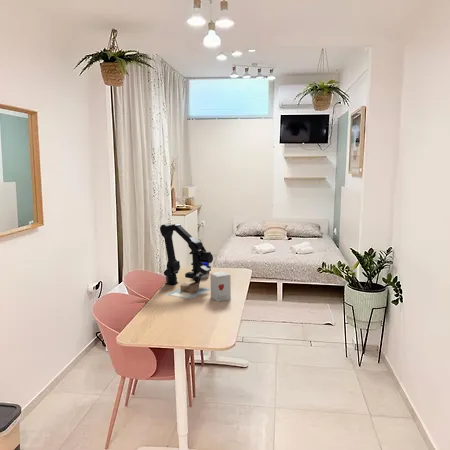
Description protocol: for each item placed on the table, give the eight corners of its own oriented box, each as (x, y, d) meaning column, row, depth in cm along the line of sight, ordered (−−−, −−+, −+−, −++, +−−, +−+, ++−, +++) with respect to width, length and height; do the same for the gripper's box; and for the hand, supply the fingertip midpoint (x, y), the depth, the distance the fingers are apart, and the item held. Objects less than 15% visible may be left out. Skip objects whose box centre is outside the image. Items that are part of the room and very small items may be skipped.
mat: (165, 294, 261) (165, 294, 261) (187, 285, 279) (187, 285, 279) (189, 299, 251) (189, 299, 251) (211, 289, 270) (211, 289, 269)
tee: (180, 291, 266) (180, 285, 265) (190, 287, 274) (189, 281, 274) (193, 293, 261) (193, 287, 260) (203, 289, 269) (203, 283, 269)
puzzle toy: (208, 277, 297) (208, 263, 296) (194, 277, 297) (193, 263, 296) (209, 273, 307) (209, 259, 306) (195, 273, 307) (195, 260, 306)
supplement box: (217, 302, 246) (216, 276, 243) (210, 297, 253) (209, 273, 251) (231, 299, 250) (230, 274, 247) (224, 295, 258) (223, 270, 255)
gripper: (199, 266, 258) (199, 291, 261) (216, 259, 274) (216, 283, 276) (184, 264, 264) (185, 288, 267) (201, 257, 280) (202, 281, 282)
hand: (197, 285), depth 273 cm, fingers closed
